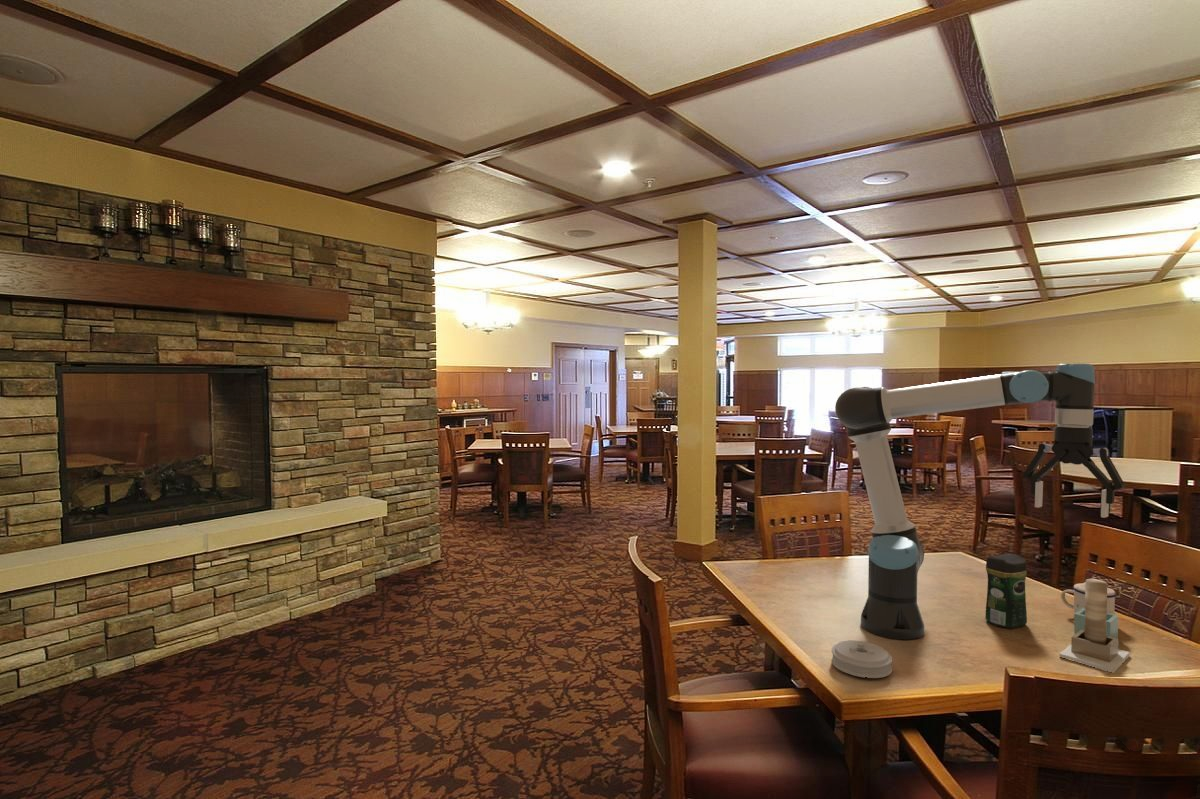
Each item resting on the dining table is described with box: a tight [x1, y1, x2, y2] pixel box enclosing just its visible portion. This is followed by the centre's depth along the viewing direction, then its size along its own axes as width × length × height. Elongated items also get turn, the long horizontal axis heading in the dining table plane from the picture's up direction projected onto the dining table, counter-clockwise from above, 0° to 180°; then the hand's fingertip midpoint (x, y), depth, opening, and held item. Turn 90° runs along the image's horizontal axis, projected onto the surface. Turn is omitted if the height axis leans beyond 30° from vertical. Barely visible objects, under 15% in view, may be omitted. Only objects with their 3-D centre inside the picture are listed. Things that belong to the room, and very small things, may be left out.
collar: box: [1070, 630, 1119, 662], centre depth 146 cm, size 7×7×4 cm
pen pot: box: [1073, 608, 1119, 639], centre depth 157 cm, size 7×7×6 cm
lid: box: [830, 639, 893, 679], centre depth 140 cm, size 13×13×5 cm
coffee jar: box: [985, 552, 1028, 629], centre depth 167 cm, size 10×8×19 cm
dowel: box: [1084, 578, 1108, 645], centre depth 146 cm, size 4×4×17 cm
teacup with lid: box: [1060, 578, 1117, 619], centre depth 169 cm, size 12×9×12 cm
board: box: [1059, 644, 1131, 674], centre depth 146 cm, size 14×10×1 cm
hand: (1070, 511), depth 153 cm, fingers open, 13 cm apart
